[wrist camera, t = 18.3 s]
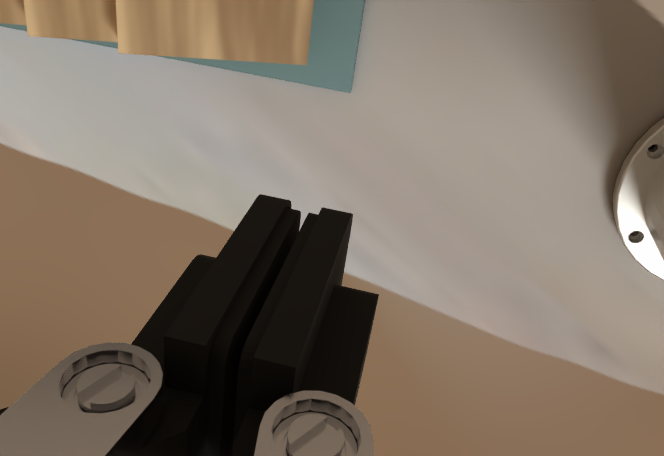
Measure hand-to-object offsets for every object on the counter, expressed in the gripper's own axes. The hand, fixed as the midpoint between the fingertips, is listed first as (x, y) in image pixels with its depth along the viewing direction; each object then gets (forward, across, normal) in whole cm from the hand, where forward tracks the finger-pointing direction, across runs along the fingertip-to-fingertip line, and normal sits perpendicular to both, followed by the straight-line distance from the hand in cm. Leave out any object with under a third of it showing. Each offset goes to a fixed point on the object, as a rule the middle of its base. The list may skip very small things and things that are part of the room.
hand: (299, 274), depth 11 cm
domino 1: (+26, +6, +1) cm, 26 cm away
